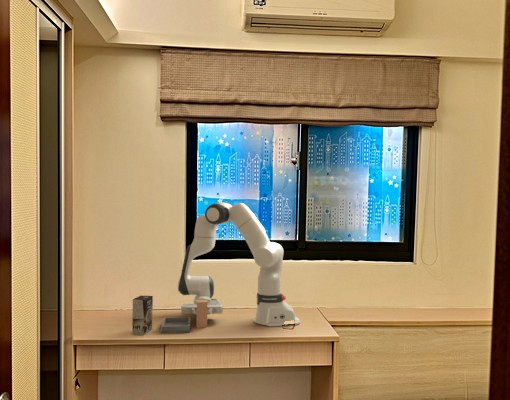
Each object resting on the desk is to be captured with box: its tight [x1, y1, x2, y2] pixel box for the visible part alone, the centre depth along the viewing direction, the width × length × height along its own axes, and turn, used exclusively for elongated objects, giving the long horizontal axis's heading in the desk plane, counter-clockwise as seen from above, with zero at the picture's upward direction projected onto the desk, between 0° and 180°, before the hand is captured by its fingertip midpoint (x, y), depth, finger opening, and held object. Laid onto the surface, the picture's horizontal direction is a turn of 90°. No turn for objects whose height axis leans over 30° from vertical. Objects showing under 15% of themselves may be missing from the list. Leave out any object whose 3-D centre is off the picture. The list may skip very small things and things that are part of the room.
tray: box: [160, 316, 192, 334], centre depth 247 cm, size 13×16×3 cm
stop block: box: [196, 300, 208, 328], centre depth 251 cm, size 5×5×12 cm
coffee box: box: [131, 295, 154, 336], centre depth 239 cm, size 9×6×16 cm
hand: (202, 312), depth 250 cm, fingers closed on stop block, 5 cm apart
